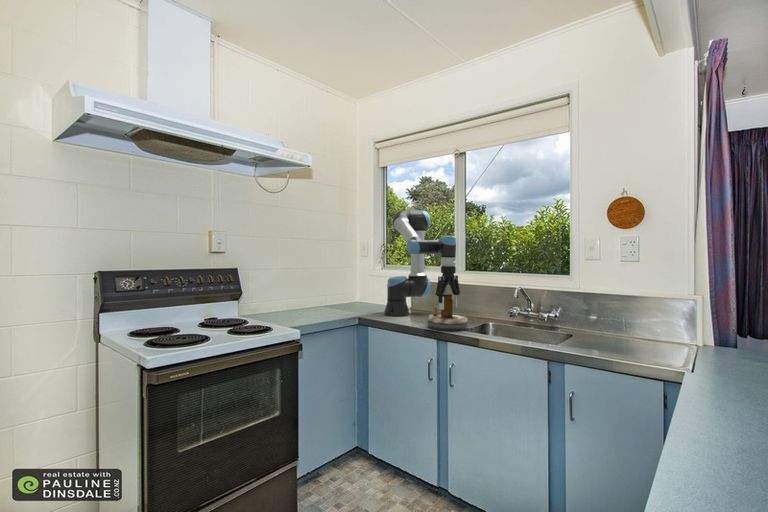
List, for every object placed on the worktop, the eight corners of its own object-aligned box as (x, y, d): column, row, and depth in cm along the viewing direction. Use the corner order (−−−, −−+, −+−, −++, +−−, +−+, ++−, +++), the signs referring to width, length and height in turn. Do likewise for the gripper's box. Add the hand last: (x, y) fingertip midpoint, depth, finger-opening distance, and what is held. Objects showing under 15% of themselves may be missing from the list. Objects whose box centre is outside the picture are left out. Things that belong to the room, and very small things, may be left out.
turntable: (425, 322, 199) (425, 310, 198) (432, 316, 218) (432, 304, 218) (465, 325, 193) (465, 312, 192) (469, 318, 212) (469, 306, 212)
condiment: (442, 315, 211) (443, 293, 210) (458, 317, 207) (458, 294, 206) (438, 317, 204) (438, 294, 204) (453, 319, 200) (454, 295, 200)
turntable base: (421, 323, 213) (422, 314, 213) (458, 322, 218) (458, 313, 218) (435, 332, 193) (436, 321, 192) (475, 330, 197) (475, 320, 197)
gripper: (440, 266, 194) (439, 311, 195) (467, 265, 210) (466, 306, 210) (428, 265, 200) (428, 309, 200) (455, 264, 215) (455, 305, 216)
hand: (447, 308), depth 205 cm, fingers open, 10 cm apart
